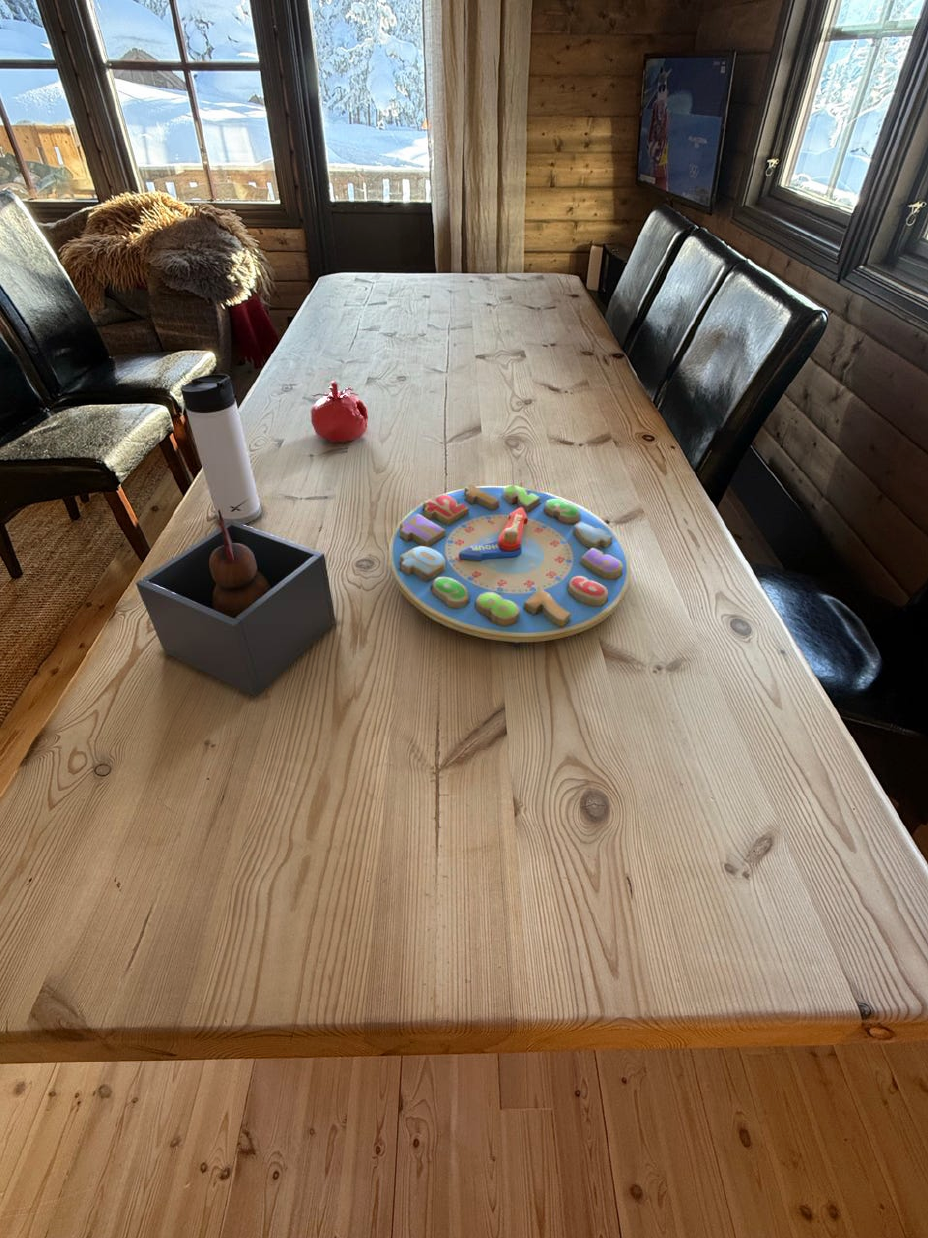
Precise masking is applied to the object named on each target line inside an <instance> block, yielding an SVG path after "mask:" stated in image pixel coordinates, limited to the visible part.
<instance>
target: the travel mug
mask: <svg viewBox="0 0 928 1238" xmlns="http://www.w3.org/2000/svg"><path fill="white" fill-rule="evenodd" d="M232 384H233V383H232V379H231V377H230V376H229V375H228V374H225V373H213V374H206V375H203V376H198V377H195V378H193V379H191V381H189V382H187V383H186V384H182V385H181V386H180V392H181V395H182V399H183V401H184V408H185V411H186V415H187V418H188V422H189V425H190V428H191V432H192V436H193V440H194V442H195V443H194V444H195V447H196V450H197V453H198V457H199V460H200V462H201V467H202V470H203V474H204V477H205V481H206V484H207V488H208V491H209V495H210V498H211V501H212V506H213V509H214V512H215V515H216V519H217V521H219V522H220V518H219V513H218V510H220V512H221V515H222V517H223V520H224V523H225V524H227V523H228V522H230V521H231V520H232V521H235V522H238V523H240V524H243V525H246V524H249V523H252V522H253V521H256V519H258V518H259V517H260V515H261V513H262V508H261V503H260V498H259V495H258V490H257V486H256V481H255V477H254V473H253V469H252V464H251V460H250V456H249V452H248V447H247V443H246V438H245V435H244V430H243V426H242V422H241V417H240V414H239V413H240V412H239V410H238V409H239V408H238V405H237V401H236V398H235V394H234V389H233V386H232Z"/></svg>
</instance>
